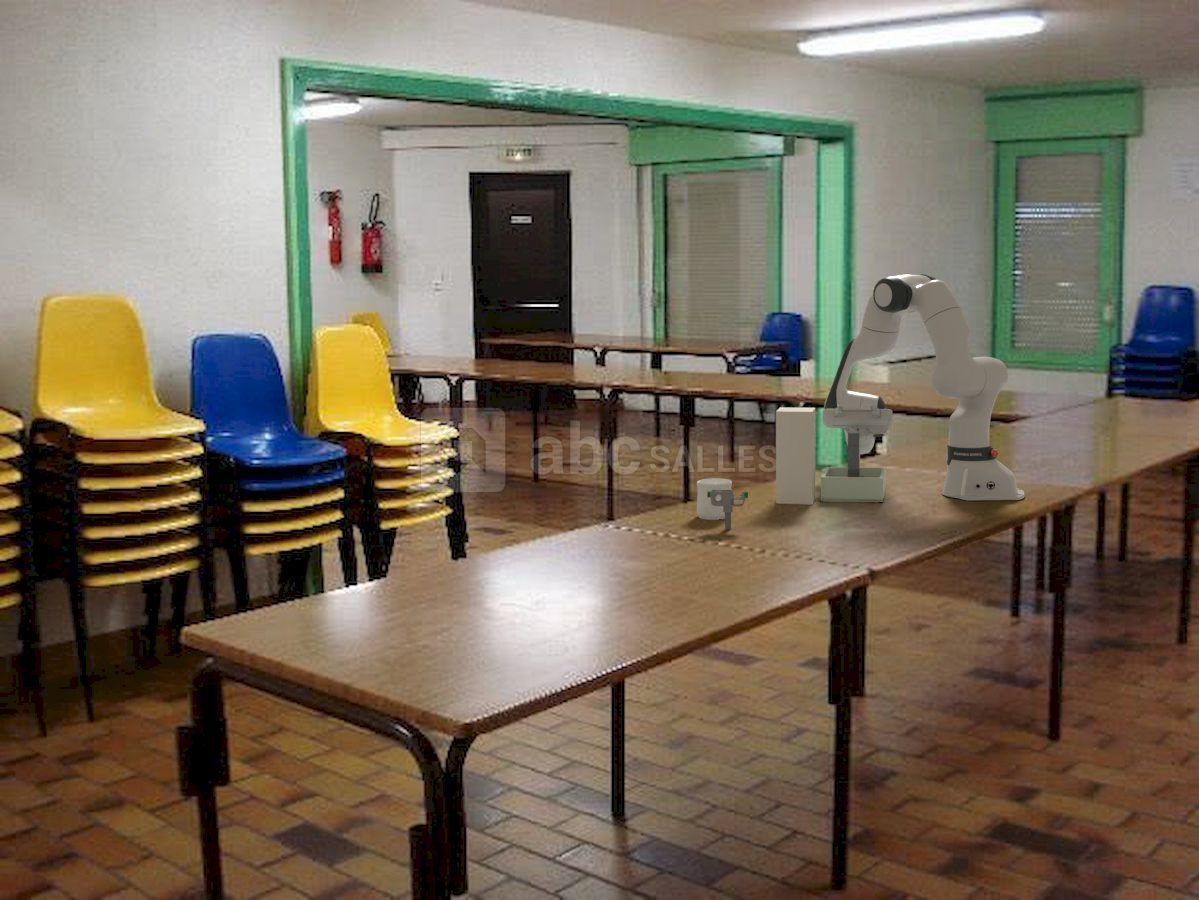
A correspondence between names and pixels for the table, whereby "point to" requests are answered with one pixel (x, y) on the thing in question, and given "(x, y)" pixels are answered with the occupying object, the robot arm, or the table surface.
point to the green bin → (853, 485)
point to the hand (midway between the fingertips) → (856, 407)
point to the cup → (704, 502)
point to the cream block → (795, 455)
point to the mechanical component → (726, 502)
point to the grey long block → (853, 455)
